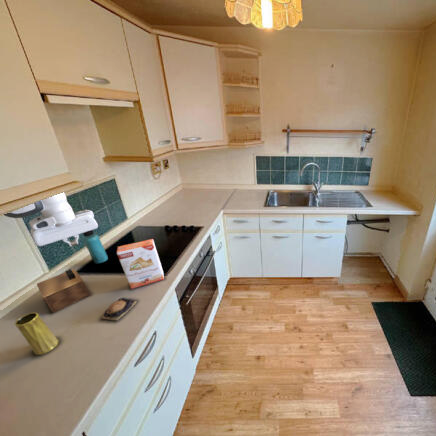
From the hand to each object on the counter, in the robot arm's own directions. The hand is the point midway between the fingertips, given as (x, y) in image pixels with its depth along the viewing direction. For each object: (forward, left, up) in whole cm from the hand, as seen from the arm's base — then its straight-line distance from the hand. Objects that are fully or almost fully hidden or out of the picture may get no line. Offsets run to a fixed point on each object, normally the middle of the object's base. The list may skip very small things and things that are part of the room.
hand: (74, 244), depth 99 cm
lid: (-10, 0, -15) cm, 17 cm away
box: (-10, 0, -23) cm, 25 cm away
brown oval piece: (+1, -27, -23) cm, 35 cm away
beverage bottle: (+8, +19, -23) cm, 31 cm away
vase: (-21, -25, -23) cm, 40 cm away
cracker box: (+17, -18, -23) cm, 34 cm away
